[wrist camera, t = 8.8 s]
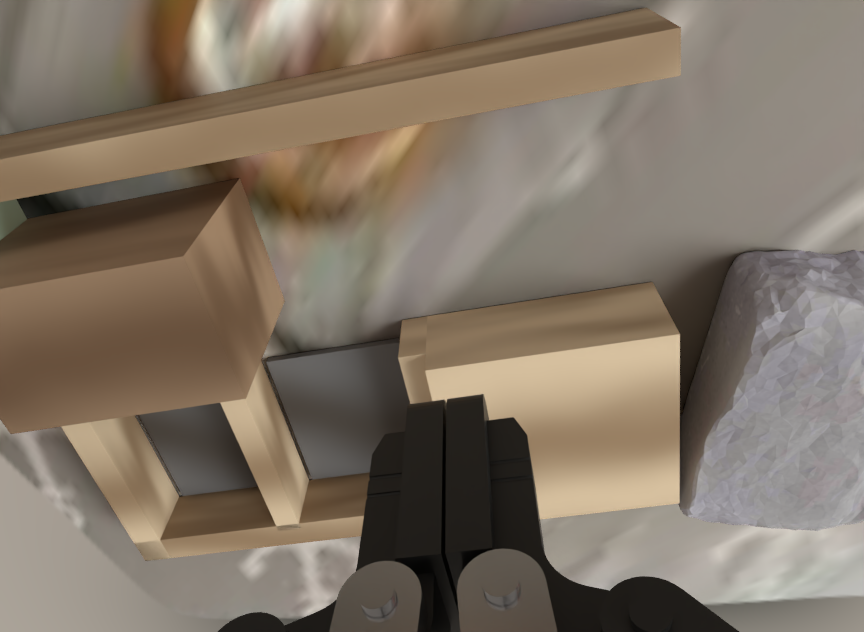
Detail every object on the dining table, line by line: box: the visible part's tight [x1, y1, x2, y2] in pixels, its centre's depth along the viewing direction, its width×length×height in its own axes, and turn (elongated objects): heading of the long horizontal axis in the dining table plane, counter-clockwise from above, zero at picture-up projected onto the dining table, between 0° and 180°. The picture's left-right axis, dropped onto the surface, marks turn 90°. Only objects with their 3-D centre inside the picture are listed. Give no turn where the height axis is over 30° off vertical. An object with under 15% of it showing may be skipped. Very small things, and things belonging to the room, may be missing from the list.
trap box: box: [0, 8, 681, 561], centre depth 25 cm, size 18×23×4 cm
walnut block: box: [0, 178, 284, 434], centre depth 23 cm, size 5×8×6 cm, turn 101°
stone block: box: [678, 250, 864, 531], centre depth 26 cm, size 12×5×10 cm
